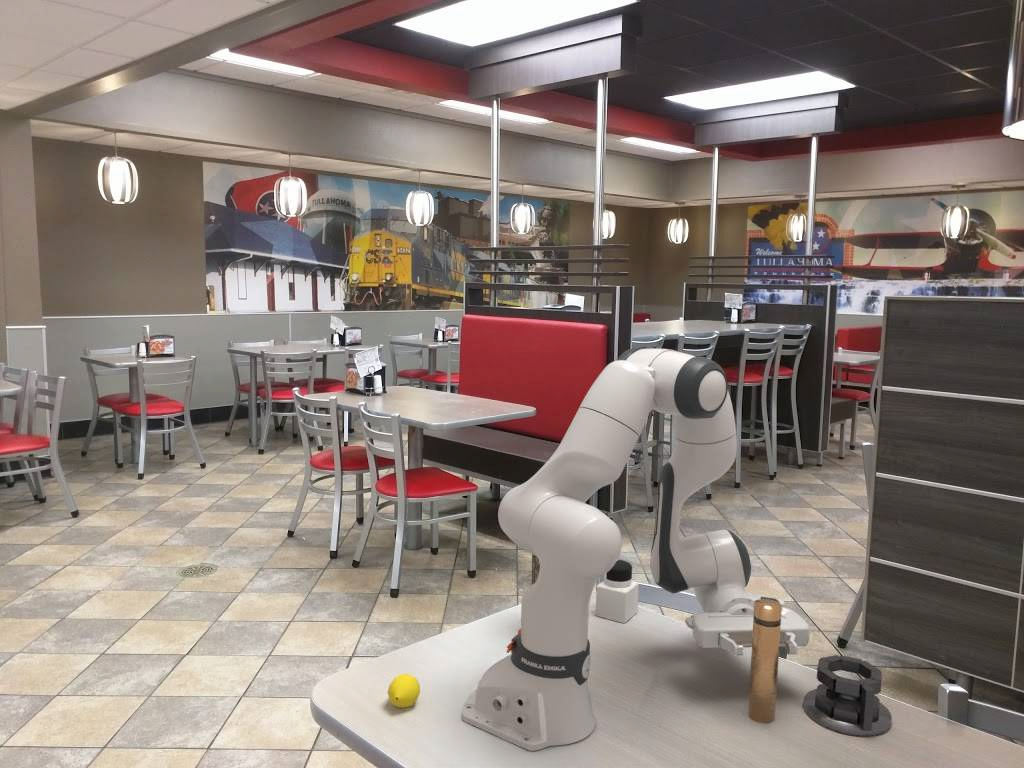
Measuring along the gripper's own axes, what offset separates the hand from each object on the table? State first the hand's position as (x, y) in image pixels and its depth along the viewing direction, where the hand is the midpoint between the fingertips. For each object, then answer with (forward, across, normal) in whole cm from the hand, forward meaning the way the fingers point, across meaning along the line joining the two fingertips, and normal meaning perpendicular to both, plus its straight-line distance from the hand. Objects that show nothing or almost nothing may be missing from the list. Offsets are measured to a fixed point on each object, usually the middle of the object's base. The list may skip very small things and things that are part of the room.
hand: (766, 651), depth 132 cm
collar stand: (0, +15, +12) cm, 19 cm away
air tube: (-1, 0, +12) cm, 12 cm away
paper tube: (-34, -33, +12) cm, 49 cm away
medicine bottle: (-42, -16, +12) cm, 47 cm away
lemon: (-7, -61, +12) cm, 63 cm away
